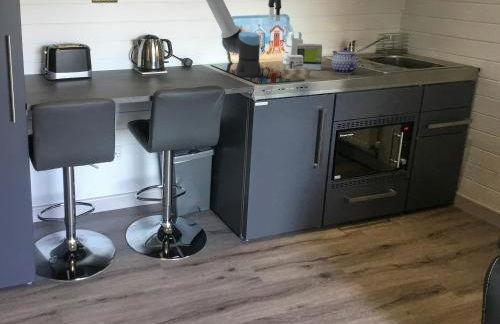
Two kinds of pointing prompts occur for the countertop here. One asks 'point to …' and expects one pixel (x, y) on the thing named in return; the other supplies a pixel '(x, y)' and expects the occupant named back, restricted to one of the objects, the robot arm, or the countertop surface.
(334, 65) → the teapot
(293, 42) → the grater
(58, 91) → the countertop surface
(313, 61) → the tea box
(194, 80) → the countertop surface
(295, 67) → the ink box
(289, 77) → the batten
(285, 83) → the countertop surface
